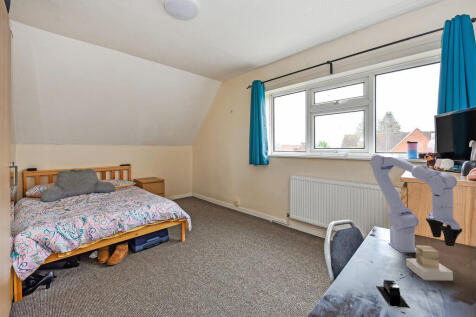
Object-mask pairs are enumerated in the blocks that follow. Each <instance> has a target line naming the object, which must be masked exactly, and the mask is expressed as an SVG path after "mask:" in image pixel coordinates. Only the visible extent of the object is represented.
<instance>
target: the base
mask: <svg viewBox="0 0 476 317" xmlns="http://www.w3.org/2000/svg"><path fill="white" fill-rule="evenodd" d="M405 260H406V261H405V263H406V264H405V265H406V268H408V269H409V270H411V271H412V272H413V273H414V274H416V275H417V276H418V277H420V278H421V279H422V280H424V281H454V272H453V271H452V270H451V269H449V268H447V267H446V266H444V265H443V264H441V263H440V262H439V268H424V267H423V266H422V265H420V264H419V263H418V262H417V261H416V257H415V258H413V257H412V258H405Z"/></svg>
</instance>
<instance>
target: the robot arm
mask: <svg viewBox="0 0 476 317" xmlns="http://www.w3.org/2000/svg"><path fill="white" fill-rule="evenodd" d="M369 164H370V166H371V168H372V170H373V171H372V172H373V176H374V178H375V180H376V182H377V185H378V186H379V188H380V190H381V192H382V194H383V196H384V198H385V201H386V203H387V204H388V206H389V211H388V213H387V214H388V215H387V216H388V217H389V222H390V225H391V227H390V229H389V241H388V242H387V243H388V244H389V246H392V247H393V248H394V249H396V250H397V251H399V252H400V253H416V244H415V243H416V239H415V235H416V234H415V231H416V227H418V226H419V224H420V221H419V218H418V217H417V215H416V214H414V213H413V210H412V209H410V208H409V207H407V206H405V204H404V202H403V200H402V198H401V196H400V195H399V192H398V191H397V189H396V187H395V185H394V183H393V182H392V180H391V177H390V176H389V173H390V172H391V171H392V170H393V168H394V167H397V168H398V169H402V170H404V171H407V172H409V173H411V176H412V177H413V178H415V179H417V180H419V181H421V182H423V183H425V184H427V185H428V187H429V188H430V191H431V204H432V205H431V206H432V209H431V211H427V212H428V214H427V215H428V217H426V218H425V221H426V222H427V224H428V226H429V227H430V230H431V231H430V232H431V235H432V237H433V238H441V237H442V235H443V239H444V240H443V241H444V244H445V246H447V247H455V244H456V241H457V239H458V237H459V235H460V234H461V233H462V232H463V228H461V226H460V223H458V222H457V221H456V219H455V218H454V188H455V187H456V186H457V184H458V181H457V179H456V177H455V176H454V175H452V174H450V173H449V172H446V173H442V172H441V170H435V169H432V168H430V167H429V165H427V164H418V165H415V164H413V163H412V162H410V161H408V160H405V159H404V158H402V157H400V156H399V155H397V154H394V153H382V154H381V153H380V154H378V153H377V154H374V155H372V157H371V158H370V160H369Z"/></svg>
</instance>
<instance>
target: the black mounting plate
mask: <svg viewBox="0 0 476 317" xmlns="http://www.w3.org/2000/svg"><path fill="white" fill-rule="evenodd" d="M375 288H376V289H377V291H378V292H379V293H380V294H381V296H382V298H383V299H384V300H385V302H386V303H387V305H388V306H389V307H394V306H397V307H396V308H403V309H404V308H405V309H411V307H410V305H409V304H408V303H407V301H406V300H405V299H404V298H403V296H402V295H401V290H400V286H399V285H398V284H397V283H396V282H395V280H390V279H383V285H381V286H380V285H376V286H375Z"/></svg>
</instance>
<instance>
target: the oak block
mask: <svg viewBox="0 0 476 317" xmlns="http://www.w3.org/2000/svg"><path fill="white" fill-rule="evenodd" d="M415 248H416V252H415V258H416V261H417V262H418V263H419V264H420V265H422V266H423V267H424V268H439V263H440V262H439V260H440V257H439V251H438V250H437V249H435V248H434V247H432V246H431V245H417V244H415Z"/></svg>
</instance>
